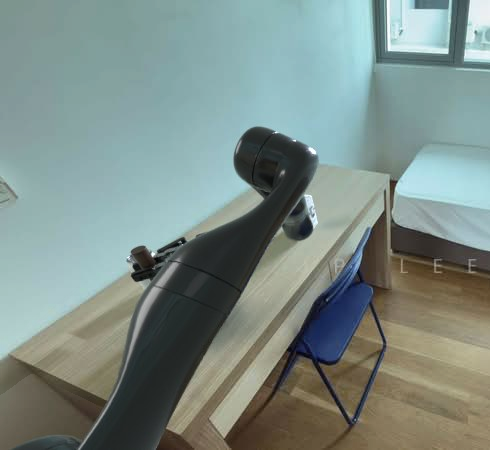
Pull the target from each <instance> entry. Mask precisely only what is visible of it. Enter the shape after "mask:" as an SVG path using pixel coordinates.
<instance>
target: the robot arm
mask: <svg viewBox="0 0 490 450" xmlns="http://www.w3.org/2000/svg"><path fill="white" fill-rule="evenodd" d="M232 161H233V168H234V171H235V173H236V175H237V176H238V177H239V178H240V179H241V180H242V181H243V182H244V183H246V184H247V185H249V186H250V187H251V188H252V189H253V190H254V191H255V192H257V194H259V196H261V197H262V198H263V199H262V201H260V202H259V203H258V204H257V205H256V206H255V207H254V208H252V209H251V210H249V211H248V212H246V213H245V214H242V215H241V216H239V217H237V218H235V219H233V220H231V221H228V222H226V223H223V224H222V225H219V226H217V227H215V228H213V229H210V230H208V231H204V232H201V233H198V234H196V235H195V237H194V238H191V239H190V240H188V241H187V239H186V237H185V236H182V237H180V238H178V239H175V240H174V241H172V242H170V243H167V244H166V245H164V246H162V247H160V248H158V249H157V250H156V253H155V255H154V256H153V258H154V260H155V261H156V263H157V265H154V266H153V267H152V266H150V267H147V268H144V269H142V268H141V267H140V265H139V264H138V263H134V264H133V266H132V267H133V269H134V270H135V272H131V273H130V278H131V279H132V280H133V282H135V283H139V282H140V281H143V280H146V279H149V278H152V277H154V278H153V280H152V281H151V282H150V284H149V285H148V286H147V288H146V289H145V290H143V292H142V294H141V295H140V297H139V299H138V300H137V302H136V304H135V307H134V309H133V312H132V313H131V318H130V321H129V326H128V328H127V333H126V339H125V343H124V349H123V353H122V359H121V363H120V366H119V370H118V374H117V377H116V380H115V383H114V385H113V388H112V391H111V393H110V395H109V397H108V400H107V401H106V403H105V405H104V406H103V408H102V409H101V411H100V413H99V415H98V416H97V418H96V419H95V421H94V422H93V424H92V426H91V427H90V428H89V430H88V431H87V433H86V434H85V436H84V437H83V438H82V439H81V438H79V437H77V436H74V435H69V434H50V435H44V436H41V437H36V438H34V439H30V440H27V441H25V442H22V443H20V444H18V445H15V446H14V447H12V448H10V449H9V450H157V448H158V446H159V444H160V442H161V439H162V437H163V435H164V433H165V431H166V429H167V427H168V425H169V423H170V421H171V419H172V417H173V415H174V413H175V411H176V409H177V407H178V405H179V403H180V401H181V399H182V398H183V396H184V394H185V392H186V390H187V388H188V387H189V385H190V384H191V382H192V380H193V378H194V376H195V374H196V372H197V370H198V369H199V367H200V365H201V364H202V361H203V360H204V358H205V356H206V355H207V354H208V352H209V349H210V348H211V346H212V344H213V343H214V341H215V340H216V338H217V337H218V335H219V334H220V331H221V330H222V328H223V327H224V325H225V324H226V322H227V320H228V319H229V318H230V316H231V315H232V312H233V311H234V309H235V307H236V306H237V304H238V303H239V300H240V299H241V297H242V295H243V294H244V292H245V290H246V288H247V287H248V285H249V284H250V283H249V282H250V281H251V279H252V277H253V275H254V274H255V272H256V270H257V268H258V266H259V264H260V263H261V260H262V259H263V257H264V256H265V254H266V252H267V250H268V249H269V247H270V246H271V244H272V243H273V242H274V240H275V237H276V235H278V233H279V231H280V229H281V228H282V231H283V233H284V235H285V237H286V239H287V240H289V241H292V242H302V241H305V240H307V239H308V238H310V237H311V235H312V234H313V232H314V230H315V228H314V227H313V224H312V221H311V219H310V217H309V214H308V211H307V204H306V199H305V196H304V195H306V192H307V190H308V189H309V187H310V186H311V184H312V183H313V180H314V178H315V176H316V173H317V170H318V168H319V162H320V159H319V155H318V152H317V150H315V148H313V147H311V146H310V145H308V144H306V143H304V142H302V141H300V140H297V139H295V138H293V137H290V136H289V135H286V134H284V133H281V132H279V131H277V130H274V129H271V128H268V127H265V126H262V125H261V126H260V125H259V126H257V125H256V126H253V127H252V126H251V127H250V128H248V129H247V130H245V131H244V132H243V134H242V135H241V136H240V138H239V139H238V140H237V143H236V145H235V148H234V151H233V157H232Z"/></svg>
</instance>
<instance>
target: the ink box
mask: <svg viewBox="0 0 490 450" xmlns="http://www.w3.org/2000/svg"><path fill="white" fill-rule="evenodd" d="M304 196H305V199H306V204H307V211H308V214H309V217H310V219H311V221H312V224H313V227H314V229H315V228H316V227H317V226H318V224H319V223H318V222H319V221H318V219H317V218H318V217H317V213H316V209H315V204H314V201H313V196H312V195H311V194H304Z"/></svg>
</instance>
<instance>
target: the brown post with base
mask: <svg viewBox="0 0 490 450" xmlns="http://www.w3.org/2000/svg"><path fill="white" fill-rule="evenodd" d="M131 254H132V256H133V257H134V258H135V260H136V261H137V263H138V264H139V265H140V267H141V268H142V269H144V268H147V267H150V266H152V267H153V266H154V265H157V263H156V261H155V260H154V258H153V257H152V255H151V254H150V252H149V251H148V248H147V246H146V245H143V244H142V245H138V246H135V247H133V248H131V250H130V255H131ZM153 278H154V277H152V278H149V279H150V281H152V280H153Z"/></svg>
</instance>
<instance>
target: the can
mask: <svg viewBox="0 0 490 450" xmlns="http://www.w3.org/2000/svg"><path fill="white" fill-rule="evenodd" d="M147 249H148V248H147ZM148 251H149V252H150V254H151V255H152V257H153V256H154V255H155V254H156V253H155V252H153V251H152V250H151V249H148ZM126 263H127V268H128V270H129V271H130V272H131V273H132V272H135V270H134V269H133V267H132V266H133V264H134V263H137V261H136V260H135V258H134V257H133V256H132V254H131V253H130V255H129V256H127V258H126ZM150 282H151V281H150V279H146V280H143V281H140V282H138V283H139V284H140V286H141V287H142V289H143V291H145V289H146V288H147V286H148V285H149V284H150Z"/></svg>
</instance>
